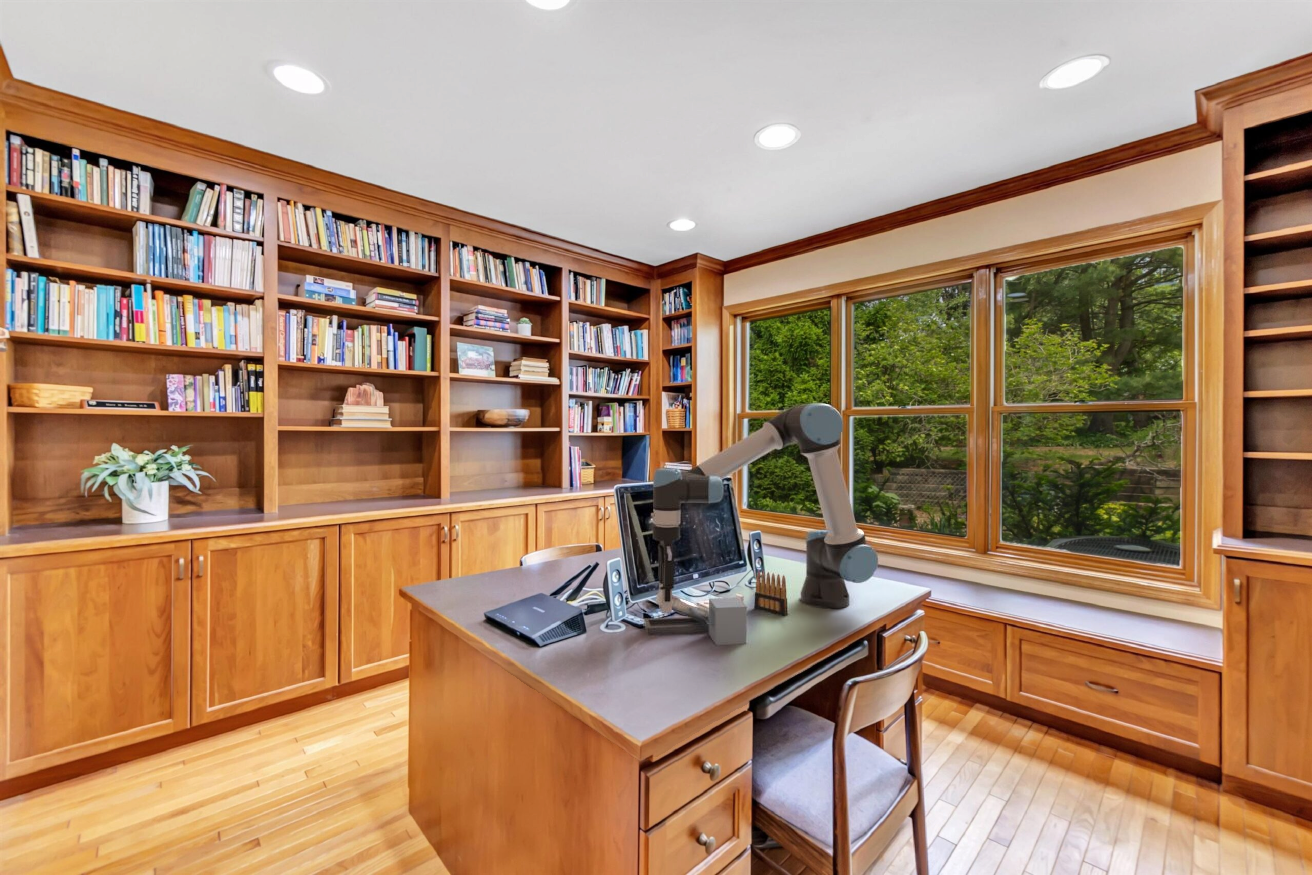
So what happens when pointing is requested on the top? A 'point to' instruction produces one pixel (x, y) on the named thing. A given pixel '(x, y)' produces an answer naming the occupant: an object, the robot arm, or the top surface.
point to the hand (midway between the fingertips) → (665, 609)
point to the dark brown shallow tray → (674, 626)
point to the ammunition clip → (771, 595)
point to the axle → (686, 608)
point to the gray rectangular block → (727, 621)
